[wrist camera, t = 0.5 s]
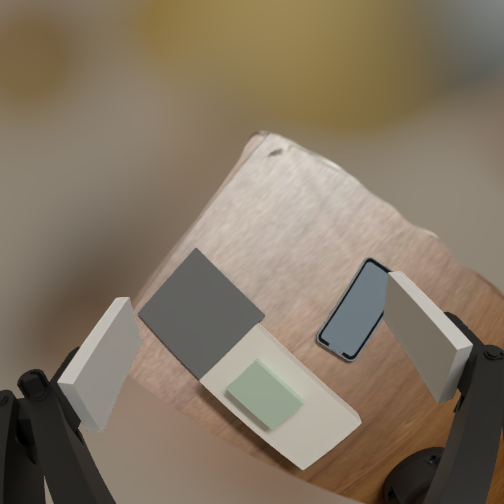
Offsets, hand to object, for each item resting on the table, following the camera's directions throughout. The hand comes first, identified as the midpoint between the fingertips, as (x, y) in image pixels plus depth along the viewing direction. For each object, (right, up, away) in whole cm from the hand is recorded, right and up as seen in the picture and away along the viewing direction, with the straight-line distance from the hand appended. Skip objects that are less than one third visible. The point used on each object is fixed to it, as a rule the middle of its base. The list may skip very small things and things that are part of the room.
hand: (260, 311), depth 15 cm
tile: (+2, -17, +26) cm, 31 cm away
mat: (-9, -7, +33) cm, 35 cm away
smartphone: (+16, -6, +30) cm, 34 cm away
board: (+4, -20, +29) cm, 36 cm away
